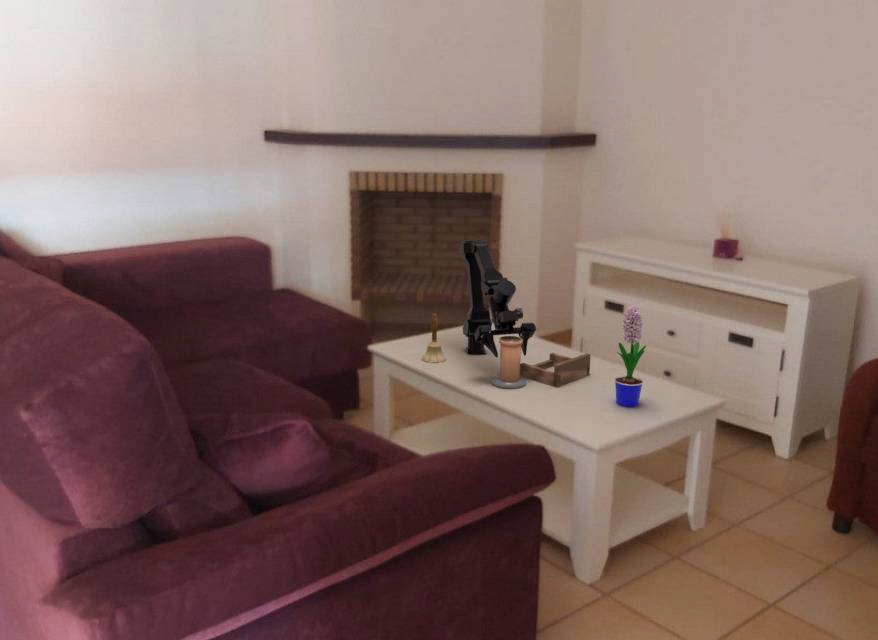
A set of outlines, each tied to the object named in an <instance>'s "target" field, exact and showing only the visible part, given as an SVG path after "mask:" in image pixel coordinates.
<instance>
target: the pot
mask: <svg viewBox="0 0 878 640" xmlns="http://www.w3.org/2000/svg"><path fill="white" fill-rule="evenodd" d="M498 343H499V345H500V349H499V371H498V373H499V380H500V381H503V382H507V383H514V382H518V381H519V380H520V364H521V360H522V359H521V357H522V355H521V354H522V348H521V344H522V343H523V339H522V338H520V337H519V336H515V335H503V336H501V337H499V339H498Z"/></svg>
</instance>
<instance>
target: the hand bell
mask: <svg viewBox="0 0 878 640" xmlns="http://www.w3.org/2000/svg"><path fill="white" fill-rule="evenodd" d="M430 329H431V342H429V343H427V348H426V350H425V351H426V352H425V353H424V355H422V358H421V360H422V361H423V362H425V363H428V362H430V364H440V363H439V362H441V363H445V362H446V361H447V357H446V356H445V355H444V353H443V350H442V345H441V343H440V342H438V336H437V335H438V334H437V332H438V329H439V319H438V316H437V313H432V316H431V318H430Z"/></svg>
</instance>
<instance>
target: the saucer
mask: <svg viewBox="0 0 878 640" xmlns="http://www.w3.org/2000/svg"><path fill="white" fill-rule="evenodd" d="M490 384H491V386H493V387H496V388H498V389H504V390H517V389H522V388H524V387H526V386H527V378H526V377H523V376H520V380H519V381H518V382H514V383H507V382H503V381H500V380H499V374H495V375H493V376H491V378H490Z"/></svg>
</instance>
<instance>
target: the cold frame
mask: <svg viewBox="0 0 878 640" xmlns="http://www.w3.org/2000/svg"><path fill="white" fill-rule="evenodd" d="M551 367H554V370H553V371H552V370H548V368H551ZM590 368H591V353H588V352H587V353H586V352H585V353H583V354H581V355H578V356H576V357H569V356H565V355H562V354H558V353H555V352H550V353H549V359H547V360H544V361H541V362H537V363H535V364H529V363H525V362H522V363H521V362H520V376H523V377H524V378H526V379H529V380H532V381H536V382H539V383H542V384H545V385H547V386H548V385H549V386H552V387H555V388H559V387H562V386H564V385H567V384H570V383H572V382H575V381H577V380H580V379H582V378H585V377H588V376H590V370H591V369H590Z"/></svg>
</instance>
